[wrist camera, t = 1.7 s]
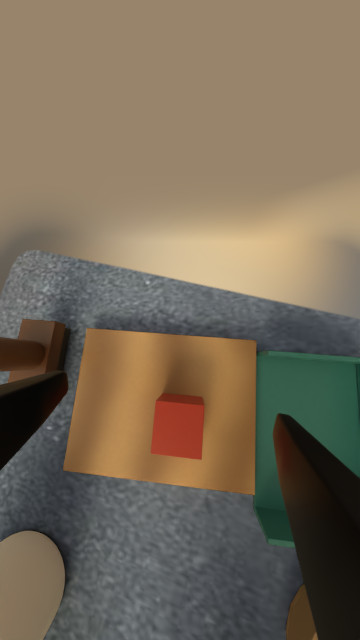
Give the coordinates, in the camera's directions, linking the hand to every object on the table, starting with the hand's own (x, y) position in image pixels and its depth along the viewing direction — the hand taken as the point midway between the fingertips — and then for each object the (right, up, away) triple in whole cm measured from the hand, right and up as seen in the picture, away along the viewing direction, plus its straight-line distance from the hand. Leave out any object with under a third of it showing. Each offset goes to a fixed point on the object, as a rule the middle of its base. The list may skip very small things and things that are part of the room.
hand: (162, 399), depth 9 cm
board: (-1, -5, +14) cm, 15 cm away
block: (+1, -6, +12) cm, 13 cm away
